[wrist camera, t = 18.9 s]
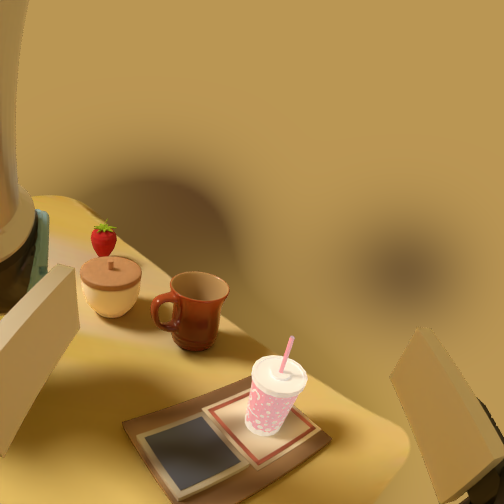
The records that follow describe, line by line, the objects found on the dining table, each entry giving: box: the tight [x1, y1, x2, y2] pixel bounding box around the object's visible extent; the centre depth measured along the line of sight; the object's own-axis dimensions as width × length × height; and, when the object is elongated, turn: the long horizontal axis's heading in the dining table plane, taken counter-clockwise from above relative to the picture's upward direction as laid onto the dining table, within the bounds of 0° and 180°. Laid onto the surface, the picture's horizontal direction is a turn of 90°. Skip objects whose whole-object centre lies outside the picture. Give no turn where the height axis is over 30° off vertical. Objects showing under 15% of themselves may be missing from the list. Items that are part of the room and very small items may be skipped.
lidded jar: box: [80, 256, 142, 318], centre depth 52 cm, size 11×11×9 cm
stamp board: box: [122, 375, 332, 504], centre depth 34 cm, size 15×21×2 cm
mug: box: [150, 272, 230, 351], centre depth 48 cm, size 12×9×10 cm
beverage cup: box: [245, 336, 308, 436], centre depth 34 cm, size 6×6×14 cm
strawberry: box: [91, 220, 117, 257], centre depth 67 cm, size 6×8×10 cm
